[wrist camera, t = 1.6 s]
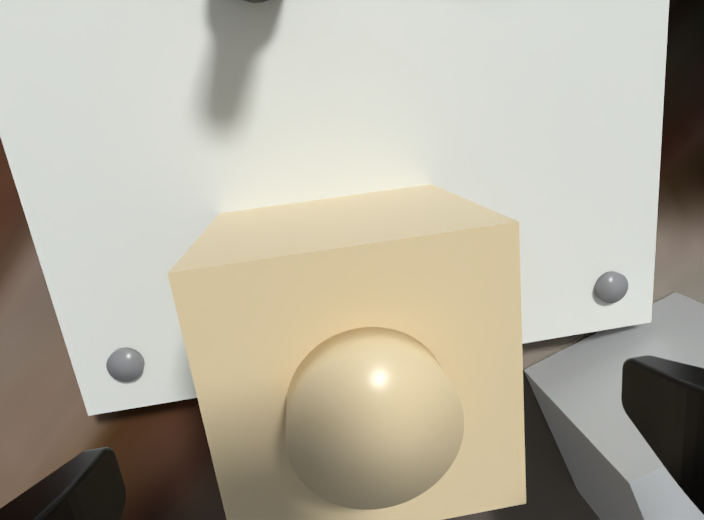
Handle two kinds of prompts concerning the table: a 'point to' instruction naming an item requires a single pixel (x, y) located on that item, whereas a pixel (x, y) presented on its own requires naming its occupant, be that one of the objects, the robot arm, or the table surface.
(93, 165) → the junction plate
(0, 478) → the table surface
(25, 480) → the table surface
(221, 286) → the beige block
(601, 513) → the grey block
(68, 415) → the table surface
